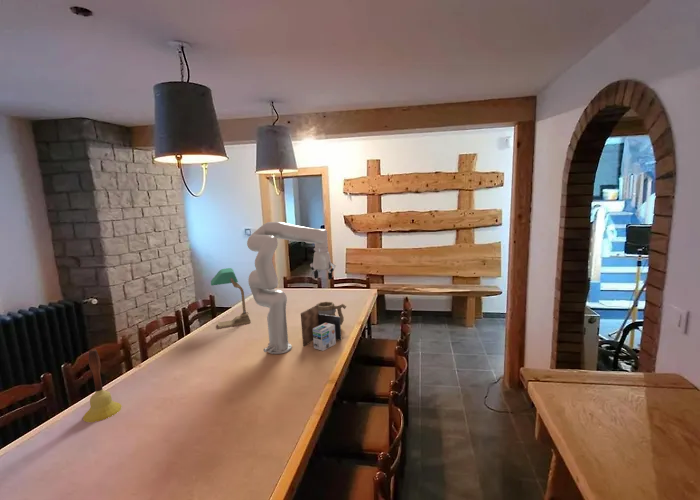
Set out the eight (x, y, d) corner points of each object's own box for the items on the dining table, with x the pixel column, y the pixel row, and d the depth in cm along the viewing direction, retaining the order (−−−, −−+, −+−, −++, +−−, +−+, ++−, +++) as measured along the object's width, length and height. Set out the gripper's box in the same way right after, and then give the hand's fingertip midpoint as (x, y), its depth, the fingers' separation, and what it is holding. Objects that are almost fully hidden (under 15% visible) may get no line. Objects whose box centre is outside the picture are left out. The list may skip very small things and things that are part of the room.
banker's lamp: (251, 324, 225) (246, 270, 220) (216, 330, 218) (209, 274, 213) (248, 317, 240) (243, 266, 235) (215, 323, 232) (209, 270, 227)
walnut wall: (304, 346, 188) (301, 313, 186) (303, 346, 189) (300, 313, 186) (320, 336, 201) (318, 305, 199) (319, 335, 202) (316, 304, 199)
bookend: (340, 340, 194) (339, 317, 192) (319, 336, 200) (318, 314, 198) (341, 339, 194) (340, 316, 192) (320, 336, 201) (318, 313, 199)
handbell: (115, 399, 146) (105, 341, 142) (126, 409, 138) (117, 348, 134) (78, 414, 136) (67, 352, 132) (88, 426, 128) (77, 360, 125)
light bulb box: (323, 351, 181) (321, 330, 179) (313, 348, 185) (311, 328, 184) (336, 343, 189) (335, 324, 188) (326, 341, 194) (325, 322, 192)
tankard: (312, 329, 213) (310, 304, 211) (323, 322, 224) (321, 298, 222) (341, 333, 204) (339, 307, 201) (351, 325, 215) (350, 301, 212)
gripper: (305, 250, 213) (307, 279, 215) (330, 251, 205) (332, 280, 207) (313, 248, 219) (314, 276, 222) (337, 249, 211) (339, 278, 213)
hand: (323, 278), depth 214 cm, fingers open, 9 cm apart
